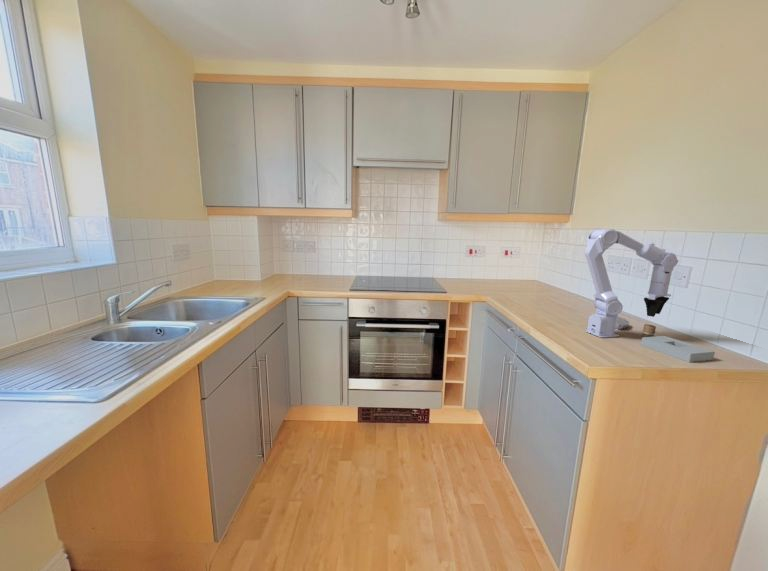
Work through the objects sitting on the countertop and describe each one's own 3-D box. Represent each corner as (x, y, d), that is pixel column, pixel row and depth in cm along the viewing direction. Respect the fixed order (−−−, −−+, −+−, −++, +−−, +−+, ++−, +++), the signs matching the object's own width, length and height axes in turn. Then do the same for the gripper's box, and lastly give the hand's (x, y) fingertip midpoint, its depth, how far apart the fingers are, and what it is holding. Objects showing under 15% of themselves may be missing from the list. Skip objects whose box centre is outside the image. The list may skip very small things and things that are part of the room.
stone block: (627, 329, 145) (603, 321, 152) (632, 320, 144) (607, 312, 150) (622, 336, 137) (597, 326, 144) (627, 326, 135) (601, 317, 142)
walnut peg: (648, 341, 124) (651, 327, 123) (639, 338, 128) (641, 324, 126) (655, 341, 125) (658, 326, 124) (646, 338, 128) (648, 324, 127)
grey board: (689, 362, 105) (690, 353, 105) (640, 344, 120) (642, 337, 120) (713, 359, 108) (715, 351, 107) (662, 343, 123) (664, 335, 122)
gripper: (668, 285, 118) (661, 319, 121) (677, 282, 127) (670, 314, 129) (644, 282, 124) (638, 315, 126) (655, 279, 133) (649, 310, 135)
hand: (653, 314), depth 128 cm, fingers open, 7 cm apart
